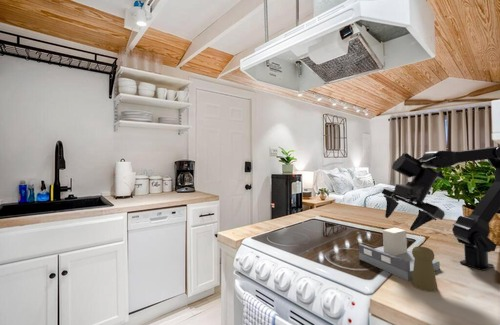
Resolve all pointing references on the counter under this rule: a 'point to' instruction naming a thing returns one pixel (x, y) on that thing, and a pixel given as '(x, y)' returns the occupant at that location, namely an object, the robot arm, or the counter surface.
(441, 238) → the counter surface
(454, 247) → the counter surface
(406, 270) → the shelf
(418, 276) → the olive pawn
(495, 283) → the counter surface
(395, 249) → the tea box
